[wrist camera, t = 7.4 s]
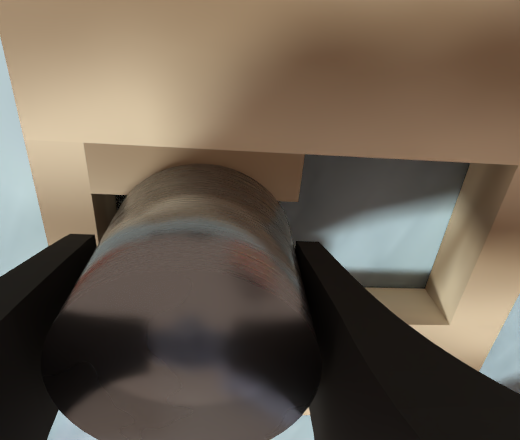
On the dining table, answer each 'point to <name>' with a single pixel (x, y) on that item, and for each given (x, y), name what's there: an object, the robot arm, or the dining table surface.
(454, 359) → the robot arm
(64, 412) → the keyhole peg
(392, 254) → the dining table surface
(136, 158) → the keyhole plate
